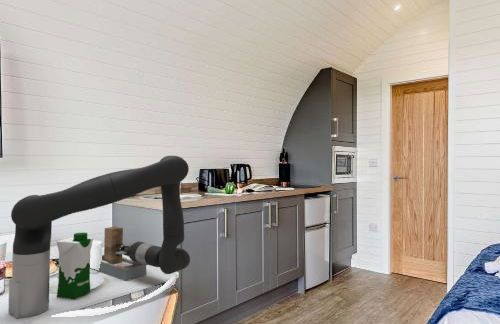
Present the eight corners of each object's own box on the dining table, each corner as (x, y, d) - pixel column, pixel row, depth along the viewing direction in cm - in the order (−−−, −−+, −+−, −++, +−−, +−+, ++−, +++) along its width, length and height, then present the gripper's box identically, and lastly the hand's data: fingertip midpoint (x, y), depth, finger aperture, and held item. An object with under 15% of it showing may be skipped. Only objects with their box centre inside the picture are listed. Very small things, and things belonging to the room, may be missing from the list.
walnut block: (110, 265, 138) (111, 229, 138) (104, 262, 141) (104, 228, 141) (122, 262, 142) (122, 227, 142) (115, 260, 145) (115, 226, 145)
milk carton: (75, 301, 109) (76, 236, 109) (51, 297, 111) (53, 234, 111) (94, 291, 117) (96, 231, 117) (72, 288, 120) (73, 230, 120)
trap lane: (125, 281, 128) (125, 269, 128) (88, 267, 144) (88, 257, 144) (146, 275, 136) (146, 263, 136) (108, 263, 151) (109, 253, 151)
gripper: (159, 240, 135) (132, 234, 145) (129, 246, 124) (102, 239, 134) (158, 259, 134) (131, 252, 145) (128, 267, 124) (101, 259, 134)
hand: (117, 246), depth 140 cm, fingers closed
